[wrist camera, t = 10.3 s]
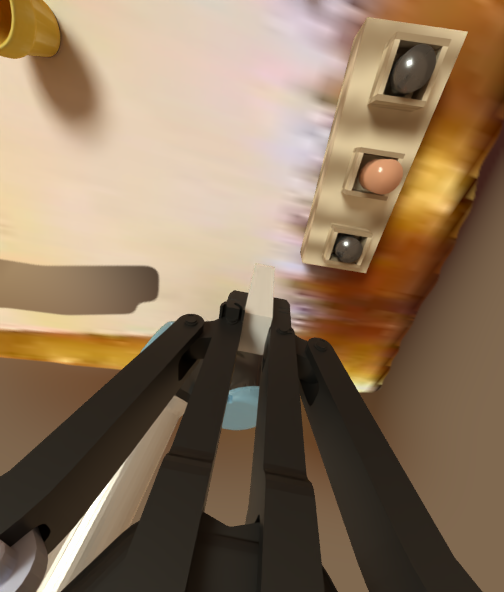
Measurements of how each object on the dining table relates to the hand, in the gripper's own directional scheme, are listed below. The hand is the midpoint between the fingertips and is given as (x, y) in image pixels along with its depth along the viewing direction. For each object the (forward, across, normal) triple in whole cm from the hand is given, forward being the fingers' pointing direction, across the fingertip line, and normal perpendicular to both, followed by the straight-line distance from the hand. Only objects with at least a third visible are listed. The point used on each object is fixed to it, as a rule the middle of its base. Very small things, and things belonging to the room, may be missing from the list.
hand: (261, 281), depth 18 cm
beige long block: (+32, -13, -8) cm, 36 cm away
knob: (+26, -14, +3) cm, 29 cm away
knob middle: (+23, -13, -8) cm, 28 cm away
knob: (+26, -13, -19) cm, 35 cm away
